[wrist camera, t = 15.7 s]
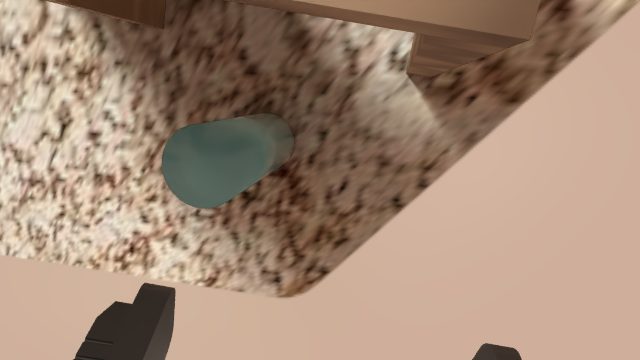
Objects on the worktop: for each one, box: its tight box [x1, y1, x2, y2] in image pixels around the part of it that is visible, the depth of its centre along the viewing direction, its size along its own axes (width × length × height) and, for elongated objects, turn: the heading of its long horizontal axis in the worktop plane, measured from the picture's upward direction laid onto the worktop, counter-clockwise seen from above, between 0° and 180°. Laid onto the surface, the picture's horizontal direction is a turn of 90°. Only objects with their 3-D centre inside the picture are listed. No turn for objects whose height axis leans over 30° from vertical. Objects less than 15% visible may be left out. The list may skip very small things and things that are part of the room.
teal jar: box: [162, 113, 294, 208], centre depth 34 cm, size 5×5×14 cm
